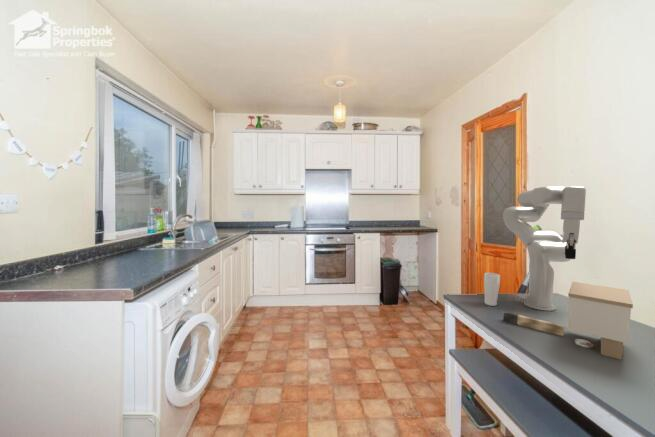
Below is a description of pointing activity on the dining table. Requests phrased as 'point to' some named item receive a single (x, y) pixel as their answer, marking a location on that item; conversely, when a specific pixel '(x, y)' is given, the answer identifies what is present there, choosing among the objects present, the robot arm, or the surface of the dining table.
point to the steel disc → (583, 343)
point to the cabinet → (601, 315)
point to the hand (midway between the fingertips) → (569, 257)
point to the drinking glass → (491, 288)
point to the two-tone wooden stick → (534, 323)
